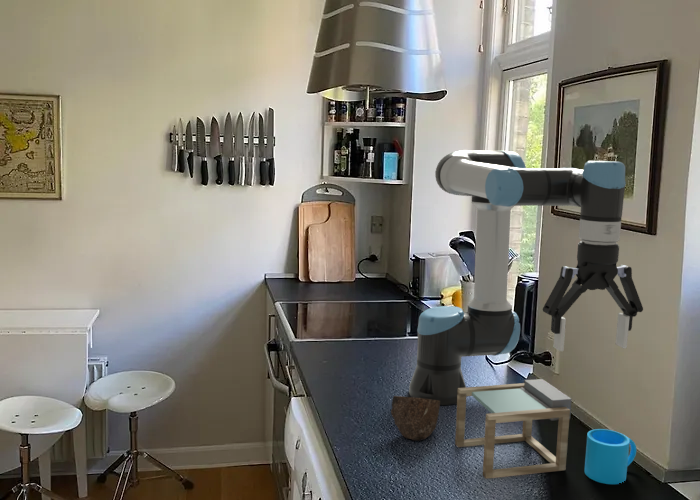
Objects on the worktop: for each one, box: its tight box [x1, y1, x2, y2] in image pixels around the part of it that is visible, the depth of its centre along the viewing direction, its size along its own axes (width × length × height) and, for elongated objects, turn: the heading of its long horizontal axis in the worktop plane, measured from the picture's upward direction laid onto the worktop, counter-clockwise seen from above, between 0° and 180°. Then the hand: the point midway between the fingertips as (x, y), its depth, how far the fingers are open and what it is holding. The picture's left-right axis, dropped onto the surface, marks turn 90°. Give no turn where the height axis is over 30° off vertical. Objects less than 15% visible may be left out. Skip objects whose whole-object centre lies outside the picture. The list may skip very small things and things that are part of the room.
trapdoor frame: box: [454, 382, 571, 479], centre depth 148 cm, size 16×18×13 cm
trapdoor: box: [471, 378, 573, 422], centre depth 147 cm, size 12×17×4 cm
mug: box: [584, 428, 637, 485], centre depth 142 cm, size 12×8×8 cm
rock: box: [390, 395, 441, 442], centre depth 157 cm, size 12×10×10 cm
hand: (590, 347), depth 136 cm, fingers open, 13 cm apart
